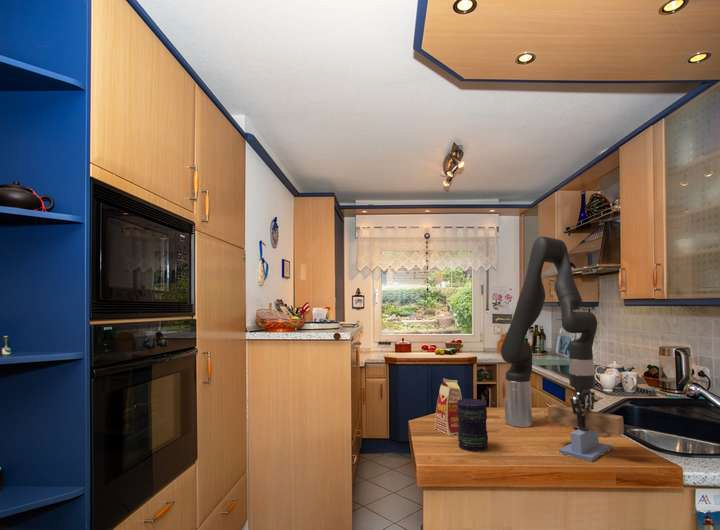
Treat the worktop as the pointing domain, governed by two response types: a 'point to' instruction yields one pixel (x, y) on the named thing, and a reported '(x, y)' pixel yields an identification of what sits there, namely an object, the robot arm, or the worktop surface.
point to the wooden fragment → (600, 433)
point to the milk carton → (448, 407)
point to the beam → (587, 419)
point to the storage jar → (472, 425)
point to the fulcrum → (585, 445)
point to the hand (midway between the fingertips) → (584, 425)
